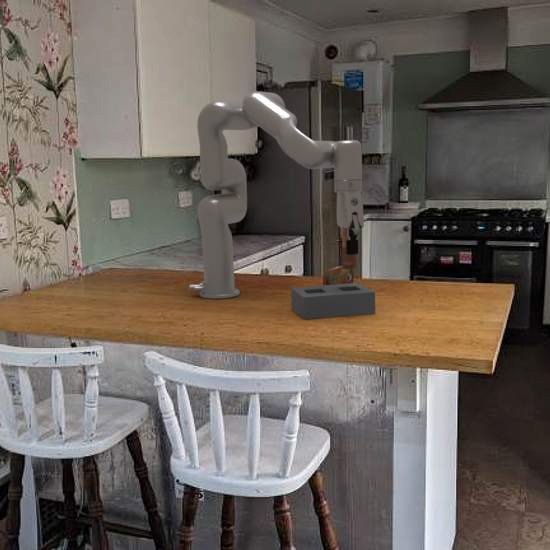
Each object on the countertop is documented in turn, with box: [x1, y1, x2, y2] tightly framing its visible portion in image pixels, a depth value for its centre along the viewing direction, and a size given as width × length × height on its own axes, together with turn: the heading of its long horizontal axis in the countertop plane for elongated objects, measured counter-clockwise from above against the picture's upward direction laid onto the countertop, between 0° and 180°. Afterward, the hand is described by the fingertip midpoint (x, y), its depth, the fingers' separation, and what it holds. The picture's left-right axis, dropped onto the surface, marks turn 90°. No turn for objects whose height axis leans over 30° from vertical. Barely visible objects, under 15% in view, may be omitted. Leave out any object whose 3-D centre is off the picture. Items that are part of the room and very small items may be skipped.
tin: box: [322, 265, 354, 286], centre depth 217 cm, size 15×3×8 cm, turn 144°
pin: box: [341, 226, 358, 270], centre depth 191 cm, size 4×4×12 cm
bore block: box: [290, 282, 376, 320], centre depth 193 cm, size 20×14×6 cm
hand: (349, 252), depth 191 cm, fingers closed on pin, 4 cm apart
